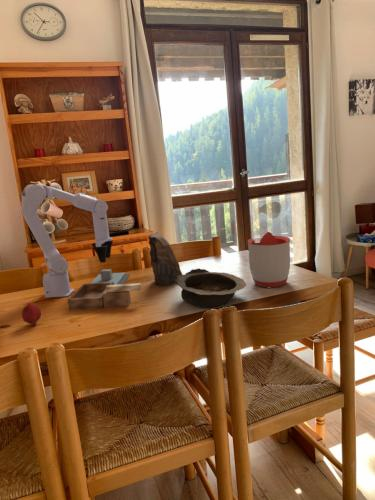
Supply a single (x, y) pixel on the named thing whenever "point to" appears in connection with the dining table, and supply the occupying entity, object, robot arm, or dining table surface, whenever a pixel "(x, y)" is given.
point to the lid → (109, 277)
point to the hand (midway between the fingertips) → (105, 259)
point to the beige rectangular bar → (123, 287)
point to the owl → (163, 261)
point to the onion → (31, 313)
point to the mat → (124, 279)
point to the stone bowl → (208, 287)
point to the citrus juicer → (269, 260)
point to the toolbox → (97, 297)
